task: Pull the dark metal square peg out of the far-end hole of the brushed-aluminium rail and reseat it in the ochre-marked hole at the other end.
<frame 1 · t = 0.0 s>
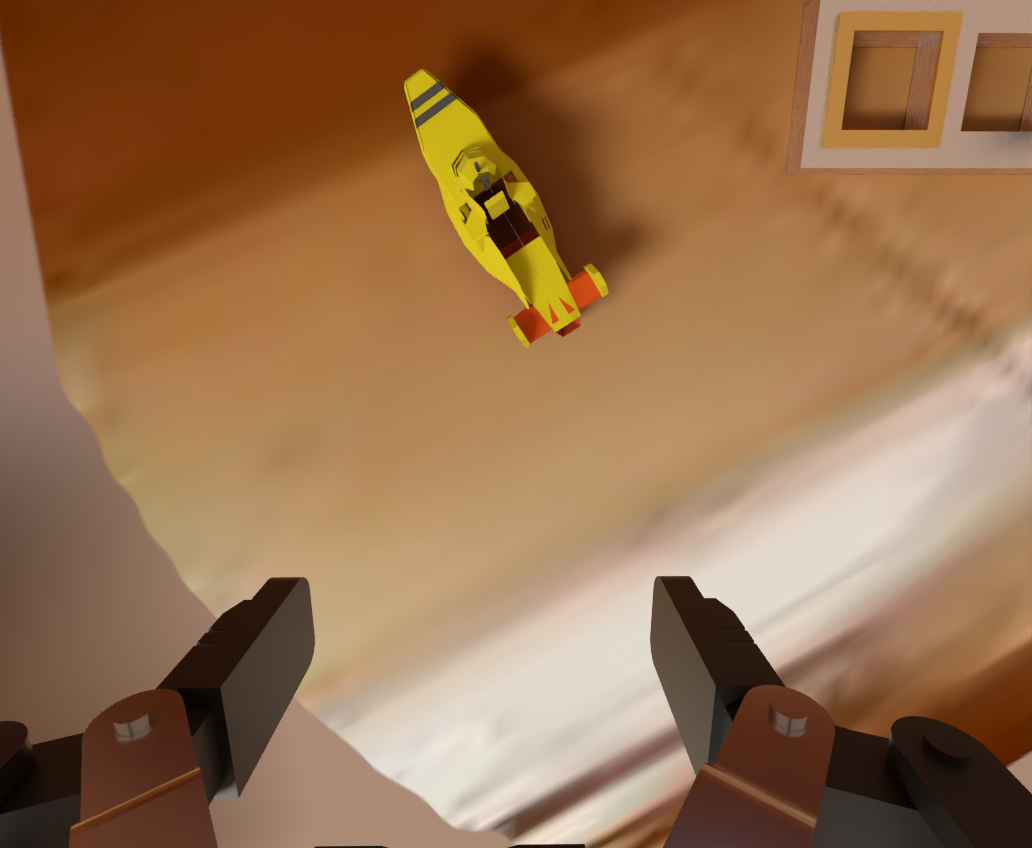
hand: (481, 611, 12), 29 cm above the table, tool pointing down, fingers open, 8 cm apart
toy boat: (499, 220, 38), on the table
rail: (985, 94, 36), on the table
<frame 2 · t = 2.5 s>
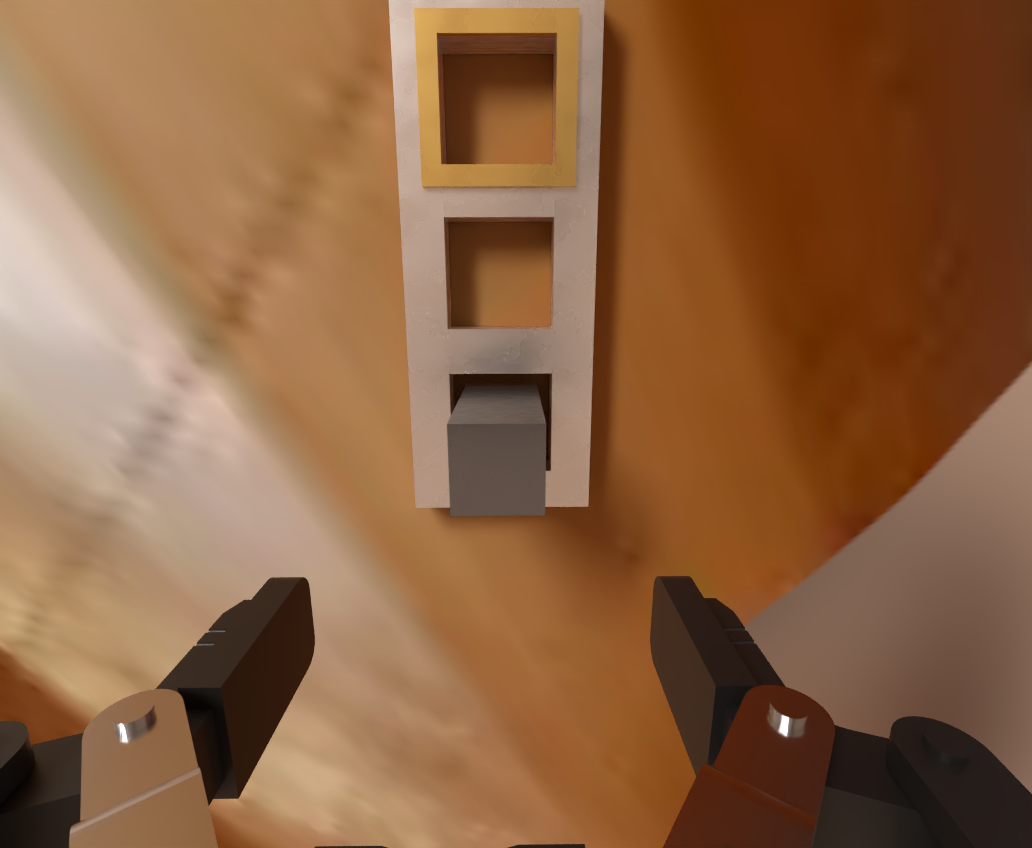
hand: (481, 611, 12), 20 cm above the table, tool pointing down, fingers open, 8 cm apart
peg: (501, 415, 32), resting in rail
rail: (500, 275, 30), on the table
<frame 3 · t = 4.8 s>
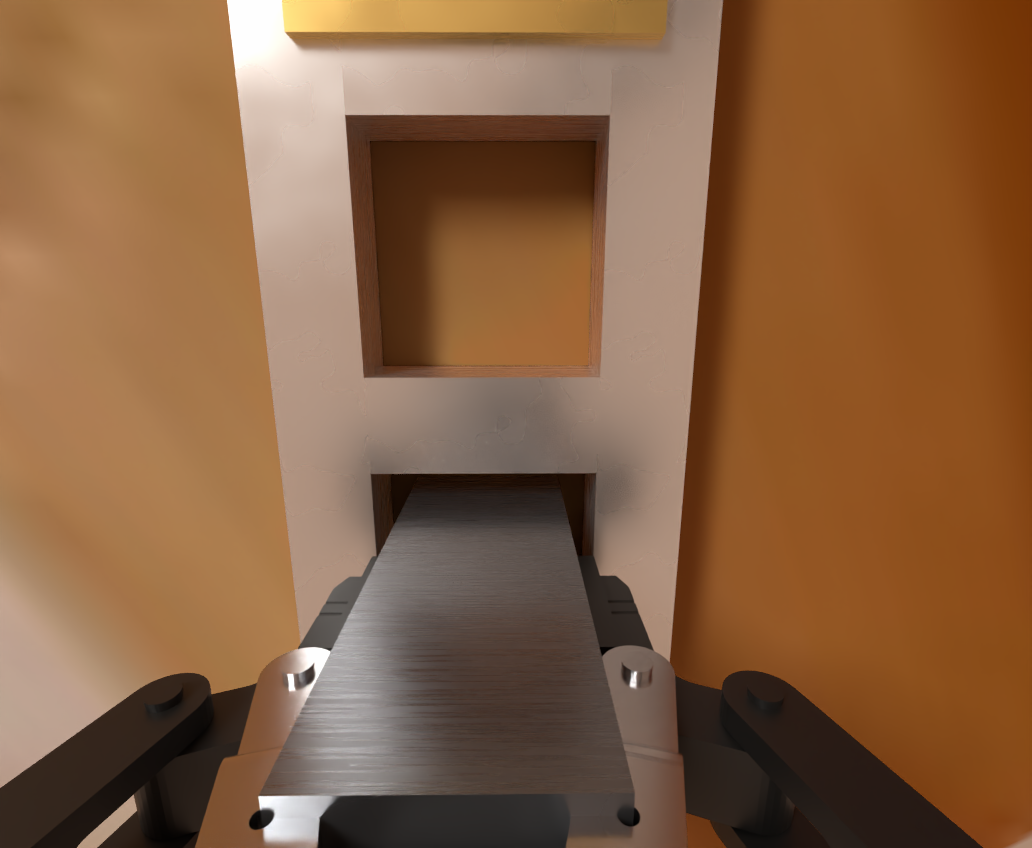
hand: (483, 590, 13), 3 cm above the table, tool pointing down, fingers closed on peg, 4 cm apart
peg: (489, 539, 16), resting in rail, touching gripper
rail: (484, 258, 14), on the table
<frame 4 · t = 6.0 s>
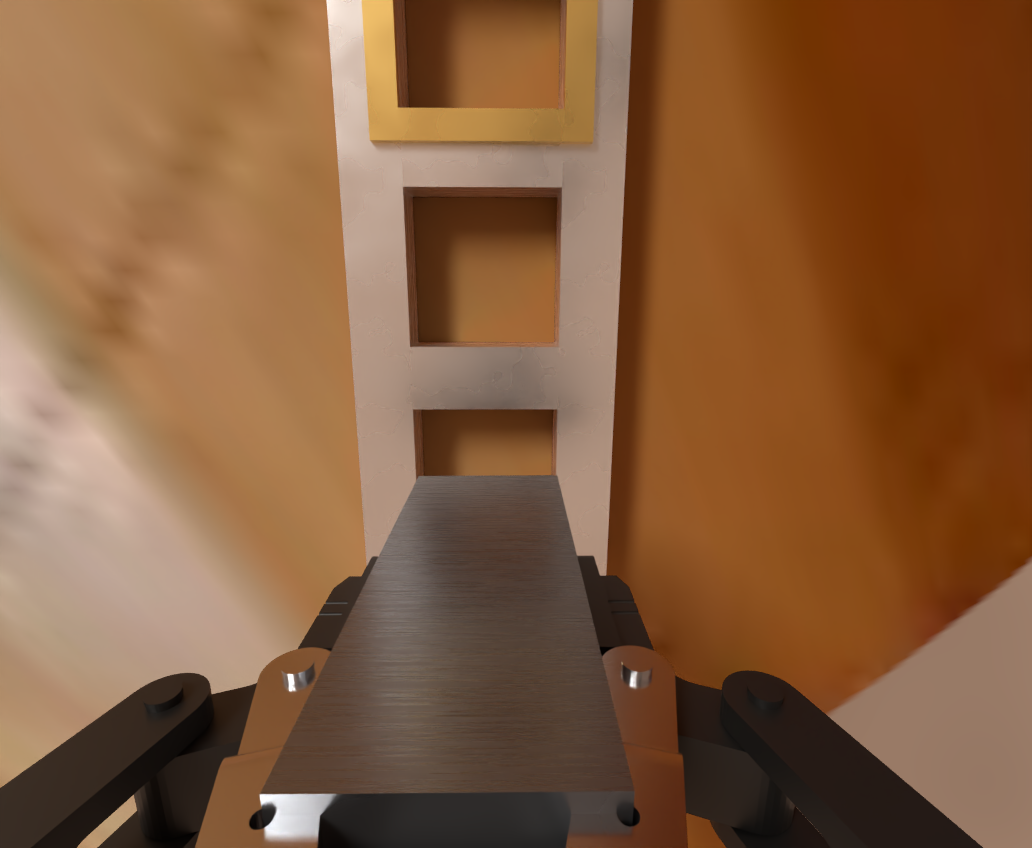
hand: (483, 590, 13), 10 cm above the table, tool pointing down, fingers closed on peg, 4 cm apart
peg: (489, 539, 16), point 8 cm above the table, touching gripper
rail: (485, 271, 21), on the table
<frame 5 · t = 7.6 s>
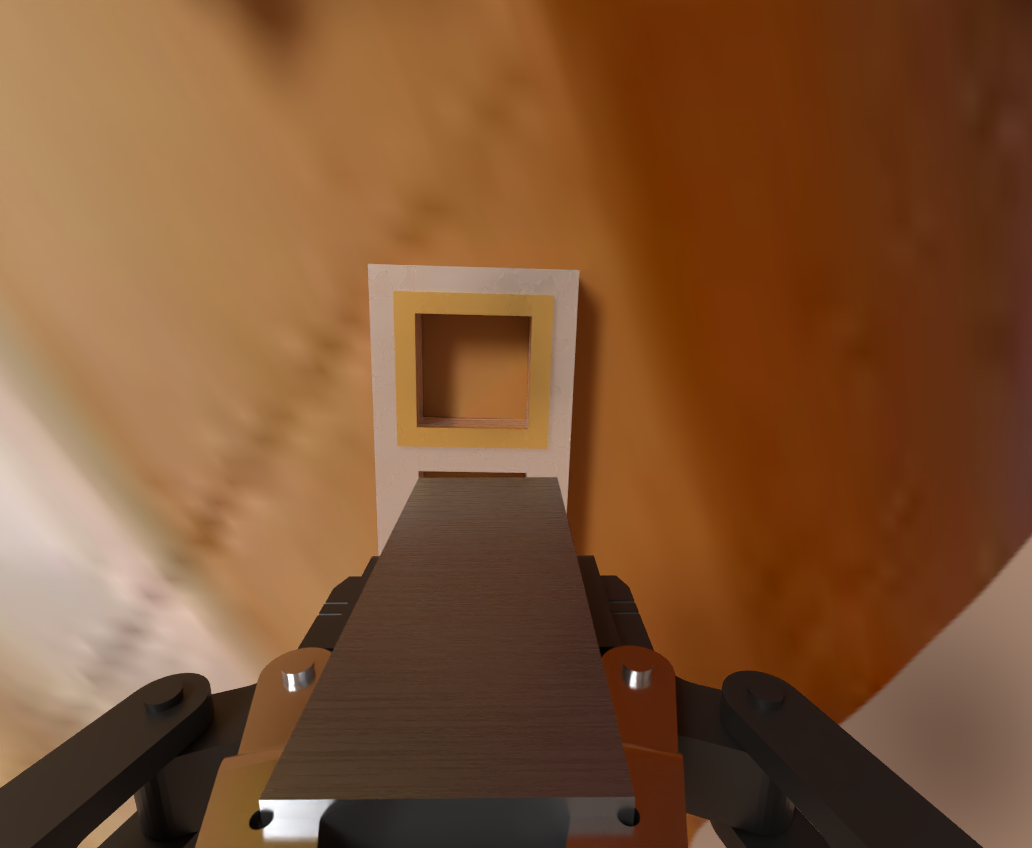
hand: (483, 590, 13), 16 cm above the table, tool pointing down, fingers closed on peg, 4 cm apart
peg: (489, 540, 16), point 14 cm above the table, touching gripper
rail: (474, 507, 30), on the table
when the fingers open (4 cm above the table, at t = 10.5 s): peg stays where it is, resting in rail.
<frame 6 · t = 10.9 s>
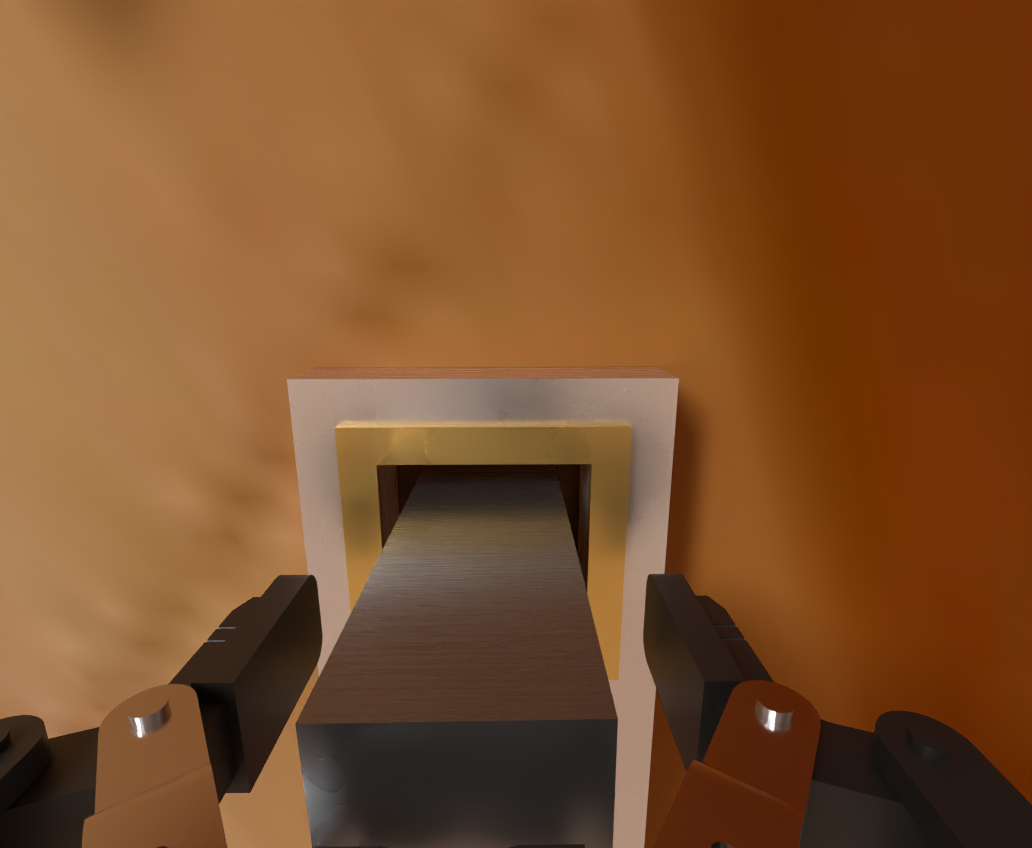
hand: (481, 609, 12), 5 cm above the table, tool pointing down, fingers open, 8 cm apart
peg: (491, 525, 17), resting in rail
rail: (492, 736, 19), on the table
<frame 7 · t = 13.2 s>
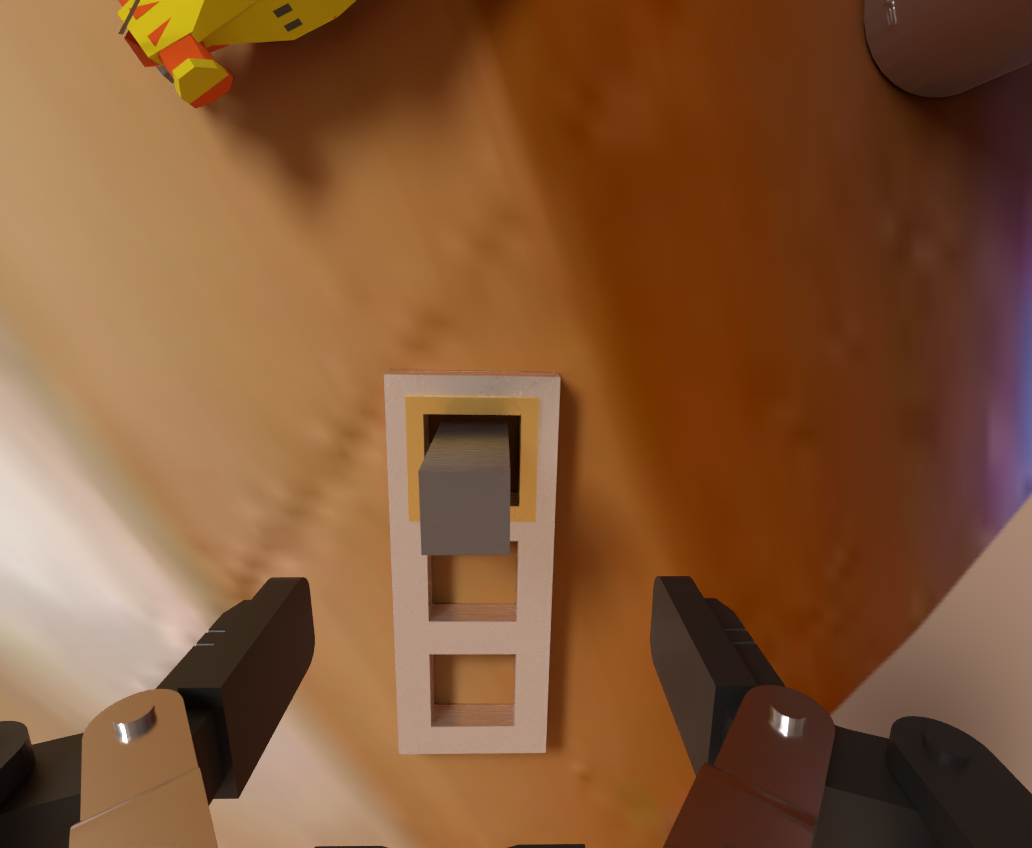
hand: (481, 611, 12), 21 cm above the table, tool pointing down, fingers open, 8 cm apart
peg: (475, 449, 33), resting in rail
rail: (474, 566, 35), on the table
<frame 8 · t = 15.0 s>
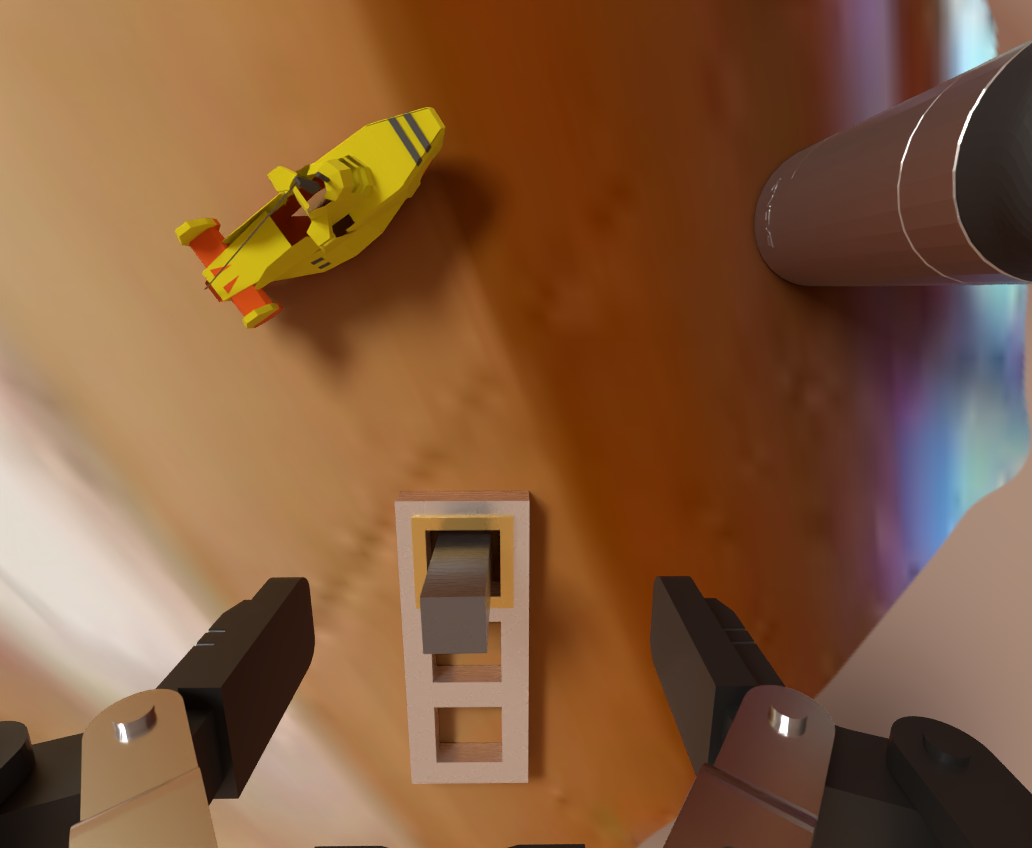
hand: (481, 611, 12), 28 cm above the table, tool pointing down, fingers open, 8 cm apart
peg: (466, 549, 43), resting in rail
toy boat: (341, 218, 37), on the table
rail: (468, 636, 45), on the table
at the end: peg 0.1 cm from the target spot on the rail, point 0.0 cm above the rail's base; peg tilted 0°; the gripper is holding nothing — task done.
